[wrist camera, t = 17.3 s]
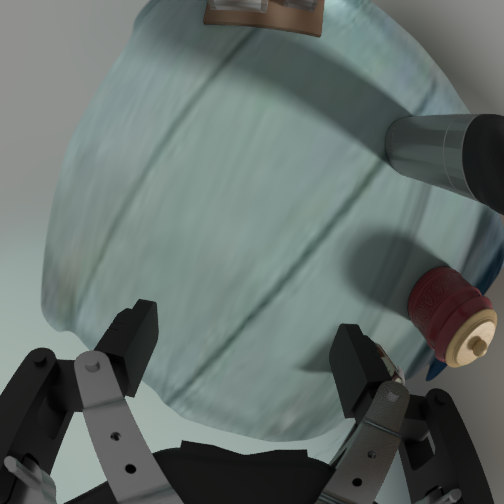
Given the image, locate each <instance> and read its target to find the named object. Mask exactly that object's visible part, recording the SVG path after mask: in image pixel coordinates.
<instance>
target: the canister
mask: <svg viewBox="0 0 504 504" xmlns="http://www.w3.org/2000/svg"><path fill="white" fill-rule="evenodd" d="M408 314H409V316H410V319H411V321H412V323H413V324H414V326H415V327H416V328H418V330H419V331H420V332H421V334H422V335H423V337H424V338H425V339H426V341H427V344H428V345H429V347H431V348H432V349H434V350H435V355H436V357H437V359H438V360H440V361H442V362H446V363H447V364H448V365H449V366H451V367H460V366H462V365H466V364H469V363H471V362H472V361H474V360H475V359H476V358H478V357H482V356H483V355H484V354H485V353H486V352H487V347H488V345H489V344H490V342H491V340H492V338H493V336H494V333H495V328H496V325H497V315H496V313H495V311H494V310H493V306H492V303H491V301H490V300H489V299H488V298H487V297H485V296H482V295H481V293H480V291H479V290H478V289H477V288H476V287H473V286H472V285H471V284H470V283H469V282H468V281H466V280H465V279H464V278H463V277H462V276H461V274H460V273H458V272H457V271H456V270H454V269H452V268H449V267H445V266H442V267H437V268H434V269H432V270H430V271H429V272H427V273H426V274H425V275H424V276H423V277H422V278H421V279H420V280H419V281H418V282H417V284H416V285H415V286H414V288H413V290H412V292H411V294H410V297H409V300H408Z"/></svg>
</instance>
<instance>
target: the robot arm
mask: <svg viewBox="0 0 504 504" xmlns="http://www.w3.org/2000/svg"><path fill="white" fill-rule="evenodd" d="M385 147H386V153H387V157H388V159H389V161H390V163H391V165H392V166H393V168H394V169H395V170H396V171H397V172H399V173H400V174H402V175H404V176H407V177H410V178H413V179H416V180H419V181H422V182H425V183H428V184H431V185H434V186H437V187H440V188H443V189H446V190H449V191H451V192H454V193H457V194H459V195H462V196H465V197H468V198H470V199H473V200H475V201H478V202H480V203H483V204H485V205H487V206H489V207H490V208H491V209H493V210H495V211H496V212H498V213H500V214H502V215H504V116H501V115H496V114H450V115H430V116H415V117H405V118H401V119H398V120H397V121H395V122H394V123H393V124H392V125H391V126H390V128H389V130H388V132H387V135H386V141H385ZM158 334H159V328H158V314H157V303H156V302H154V301H148V300H143V299H139V300H138V301H137V302H136V304H135V305H134V307H133V309H129V308H126V309H124V310H123V311H121V312H120V313H118V314H117V316H116V317H115V319H114V320H113V323H111V325H110V326H109V329H107V331H106V332H105V334H104V335H103V337H102V338H101V340H100V341H99V343H98V344H97V346H96V347H95V349H94V350H93V351H87V352H84V353H82V354H80V355H79V356H78V357H77V358H76V360H59V359H56V357H55V354H54V352H53V351H52V350H50V349H48V348H37V349H34V350H32V351H31V352H30V353H29V354H28V355H27V356H26V357H25V359H24V360H23V362H22V363H21V365H20V366H19V368H18V369H17V370H16V372H15V374H14V375H13V377H12V378H11V380H10V381H9V383H8V384H7V386H6V388H5V389H4V391H3V392H2V394H1V395H0V504H57V503H56V486H55V483H54V481H53V479H52V478H51V477H50V473H51V470H52V468H53V465H54V462H55V459H56V456H57V454H58V451H59V448H60V446H61V443H62V440H63V438H64V435H65V433H66V430H67V428H68V426H69V423H70V420H71V418H72V416H73V414H74V412H83V415H84V418H85V422H86V425H87V428H88V431H89V434H90V437H91V440H92V443H93V446H94V449H95V451H96V454H97V456H98V459H99V462H100V464H101V466H102V469H103V471H104V474H105V476H106V478H107V481H106V482H104V483H102V484H100V485H99V486H97V487H95V488H93V489H91V490H89V491H88V492H86V493H84V494H82V495H80V496H78V497H76V498H74V499H72V500H70V501H68V502H66V503H64V504H378V503H377V502H375V501H374V500H375V498H376V496H377V494H378V492H379V490H380V488H381V486H382V483H383V482H384V480H385V477H386V475H387V473H388V471H389V469H390V466H391V464H392V462H393V459H394V457H395V454H396V452H397V449H398V450H399V454H400V457H401V461H402V465H403V469H404V473H405V477H406V481H407V486H408V490H409V494H410V499H411V504H494V501H493V498H492V494H491V491H490V488H489V485H488V483H487V479H486V476H485V474H484V471H483V468H482V466H481V463H480V460H479V458H478V455H477V453H476V450H475V448H474V445H473V443H472V441H471V438H470V436H469V434H468V431H467V429H466V427H465V425H464V423H463V420H462V418H461V416H460V414H459V412H458V410H457V408H456V406H455V404H454V402H453V400H452V398H451V396H450V395H449V394H448V393H447V392H445V391H444V390H442V389H437V388H436V389H435V388H434V389H431V390H430V391H429V392H428V393H427V394H426V396H425V397H423V396H417V395H411V394H409V391H408V390H407V388H406V387H405V386H404V385H403V384H401V383H399V382H396V381H393V380H392V378H391V376H390V373H389V371H388V369H387V367H386V365H385V363H384V361H383V359H381V358H382V357H381V355H380V353H379V352H378V349H377V347H376V345H375V343H374V342H373V341H372V340H371V339H370V338H369V337H368V336H366V335H363V333H362V331H361V329H360V327H359V325H357V324H341V325H340V326H339V328H338V331H337V334H336V336H335V339H334V342H333V344H332V347H331V349H330V354H329V361H330V365H331V369H332V372H333V376H334V379H335V383H336V387H337V390H338V394H339V397H340V401H341V405H342V409H343V412H344V416H345V418H355V420H356V422H355V424H354V425H353V427H352V428H351V430H350V432H349V434H348V435H347V437H346V439H345V440H344V442H343V444H342V445H341V447H340V448H339V450H338V452H337V453H336V455H335V456H334V458H333V459H332V460H331V461H330V463H329V464H326V463H325V462H322V461H319V460H317V459H314V458H310V457H308V455H307V450H274V451H268V452H262V453H257V454H250V455H243V454H239V453H236V452H232V451H229V450H226V449H223V448H220V447H217V446H214V445H208V444H201V443H195V442H189V441H183V440H182V443H181V447H180V448H169V449H165V450H160V451H158V452H155V453H151V451H150V449H149V448H148V446H147V444H146V442H145V440H144V438H143V436H142V434H141V432H140V430H139V428H138V426H137V424H136V422H135V420H134V418H133V415H132V414H131V411H130V409H129V406H128V404H127V402H126V400H125V399H124V398H125V395H126V396H129V397H133V398H134V397H135V394H136V392H137V389H138V387H139V384H140V382H141V379H142V377H143V374H144V372H145V369H146V367H147V365H148V362H149V360H150V358H151V355H152V353H153V350H154V348H155V346H156V343H157V340H158ZM429 434H431V436H432V439H433V442H434V445H435V454H433V451H432V448H431V446H430V443H429V440H428V437H427V436H428V435H429Z"/></svg>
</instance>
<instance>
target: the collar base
mask: <svg viewBox="0 0 504 504" xmlns="http://www.w3.org/2000/svg"><path fill="white" fill-rule="evenodd" d="M323 12H324V0H208V3H207V7H206V11H205V16H204V20H203V22H204V24H218V25H238V26H251V27H261V28H269V29H276V30H283V31H289V32H295V33H300V34H306V35H310V36H315V37H319V38H320V36H321V32H322V22H323Z"/></svg>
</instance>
